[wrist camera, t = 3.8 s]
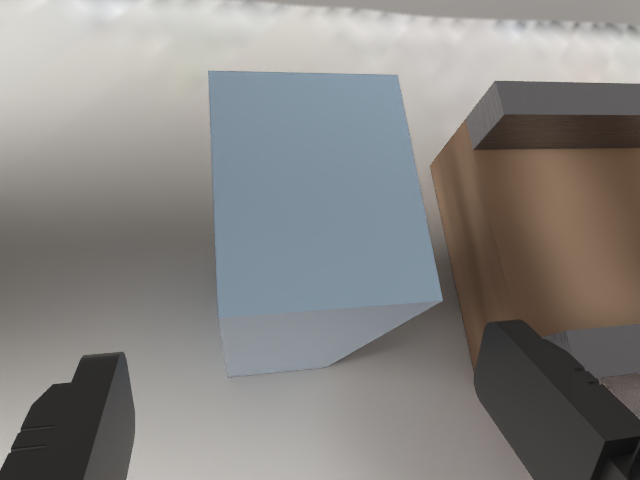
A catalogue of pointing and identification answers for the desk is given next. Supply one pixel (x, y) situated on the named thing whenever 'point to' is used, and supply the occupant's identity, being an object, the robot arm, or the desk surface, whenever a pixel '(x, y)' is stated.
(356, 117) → the pale blue box
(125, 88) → the desk surface
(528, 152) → the brown wooden tray
